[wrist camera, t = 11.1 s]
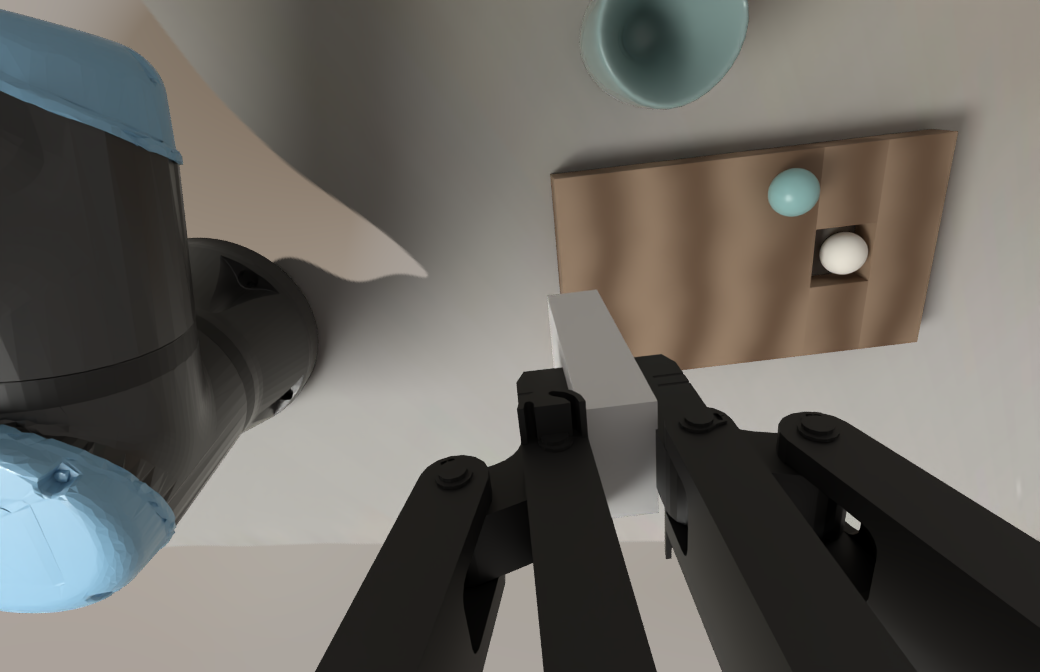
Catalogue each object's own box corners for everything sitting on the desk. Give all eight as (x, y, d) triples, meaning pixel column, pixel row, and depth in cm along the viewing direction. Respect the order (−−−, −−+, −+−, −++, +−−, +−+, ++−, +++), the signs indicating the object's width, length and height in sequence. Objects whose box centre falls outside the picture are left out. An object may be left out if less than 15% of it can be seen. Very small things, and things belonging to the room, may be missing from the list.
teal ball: (758, 214, 40) (779, 223, 37) (761, 168, 39) (783, 174, 36) (802, 208, 40) (827, 218, 37) (807, 162, 39) (832, 168, 36)
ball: (872, 278, 42) (852, 265, 45) (879, 235, 40) (858, 225, 43) (827, 281, 42) (810, 268, 45) (832, 239, 41) (814, 229, 44)
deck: (566, 369, 47) (570, 383, 45) (550, 174, 41) (553, 179, 39) (896, 329, 47) (916, 341, 45) (931, 129, 41) (958, 131, 39)
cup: (710, 36, 38) (780, 18, 29) (627, 128, 40) (668, 140, 31) (630, -57, 35) (679, -108, 26) (547, 47, 38) (566, 32, 28)
